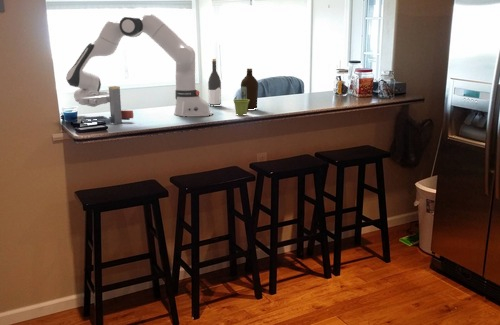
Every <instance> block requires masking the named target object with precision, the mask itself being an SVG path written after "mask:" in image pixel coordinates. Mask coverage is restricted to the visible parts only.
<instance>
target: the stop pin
mask: <svg viewBox="0 0 500 325" xmlns="http://www.w3.org/2000/svg"><path fill="white" fill-rule="evenodd" d="M108 93H109V98H110V102H109V106H110V107H109V110H110V117H111V124H112V125H119V124H122V123H123V120H122V116H121V110H122V105H121V104H122V102H121V87H120V86H117V85H116V86H115V85H113V86H112V85H111V86H108Z"/></svg>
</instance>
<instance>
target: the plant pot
mask: <svg viewBox="0 0 500 325" xmlns="http://www.w3.org/2000/svg"><path fill="white" fill-rule="evenodd" d="M249 101H250V100H247V99H241V98H236V99H235V98H234V99H233V104H234V108H235V115H236V114H238V115H241V116H243V115H242V114H247V115H248V111H247V108H248V103H249ZM238 115H237V116H238Z"/></svg>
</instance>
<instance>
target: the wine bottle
mask: <svg viewBox="0 0 500 325" xmlns="http://www.w3.org/2000/svg"><path fill="white" fill-rule="evenodd" d="M211 62H212V63H211V64H212V65H211V66H212V71H211V73H210V76H209V78H208V83H207V86H208V105H209V104H210V105H220V104H221V105H222V82H221V77H220V75H219V74H218V71H217V58H212V61H211Z"/></svg>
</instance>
